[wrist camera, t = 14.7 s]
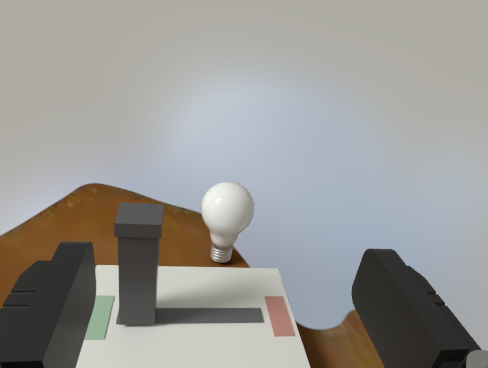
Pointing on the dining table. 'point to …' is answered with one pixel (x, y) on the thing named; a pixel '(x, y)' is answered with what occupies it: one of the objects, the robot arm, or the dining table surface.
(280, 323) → the breaker panel
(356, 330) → the dining table surface
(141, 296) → the handle
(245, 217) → the lightbulb
